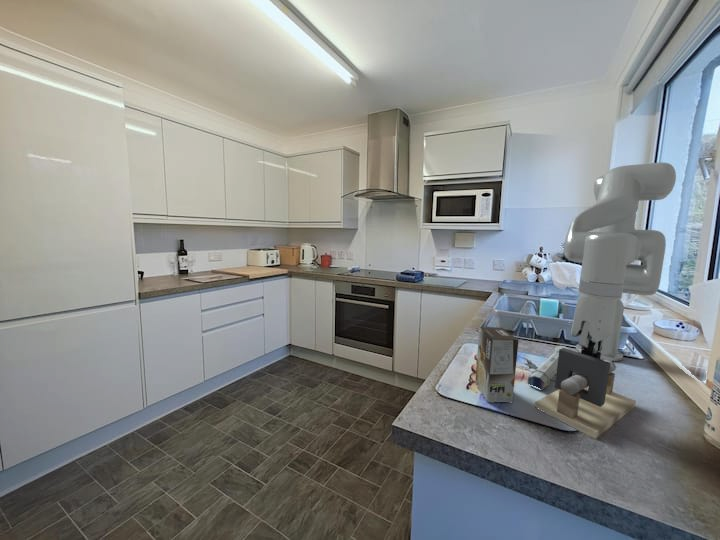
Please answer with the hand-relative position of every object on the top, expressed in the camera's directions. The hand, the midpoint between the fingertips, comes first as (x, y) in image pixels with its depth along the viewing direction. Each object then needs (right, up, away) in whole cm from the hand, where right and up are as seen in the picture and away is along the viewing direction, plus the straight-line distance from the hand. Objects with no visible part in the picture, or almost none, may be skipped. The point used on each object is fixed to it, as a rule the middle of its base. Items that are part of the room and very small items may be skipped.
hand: (588, 366), depth 68 cm
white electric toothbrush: (+3, -9, +18) cm, 20 cm away
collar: (-3, -6, -1) cm, 7 cm away
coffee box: (-19, -9, +7) cm, 22 cm away
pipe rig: (+1, -10, +2) cm, 11 cm away
